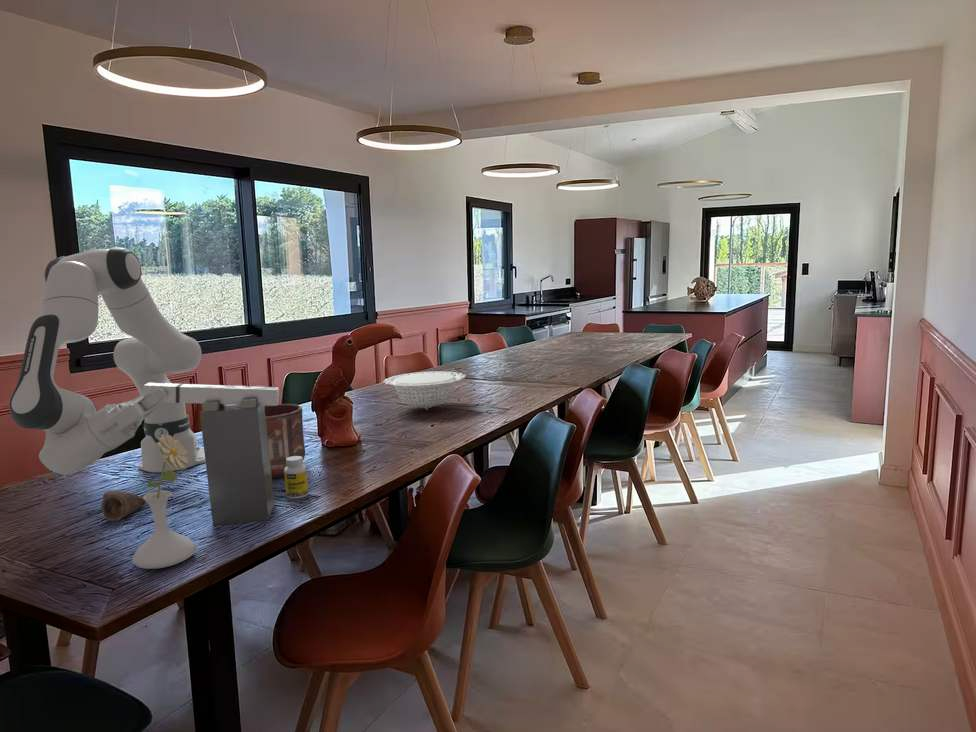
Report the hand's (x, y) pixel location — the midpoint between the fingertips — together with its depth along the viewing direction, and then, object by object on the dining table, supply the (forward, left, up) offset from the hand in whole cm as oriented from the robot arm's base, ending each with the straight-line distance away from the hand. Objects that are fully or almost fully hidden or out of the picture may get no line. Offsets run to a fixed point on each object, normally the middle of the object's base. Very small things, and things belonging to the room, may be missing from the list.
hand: (168, 389), depth 147 cm
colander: (-97, +65, -31) cm, 121 cm away
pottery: (-32, +16, -31) cm, 47 cm away
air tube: (0, +9, -4) cm, 10 cm away
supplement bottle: (-10, +24, -31) cm, 41 cm away
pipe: (-13, -19, -31) cm, 39 cm away
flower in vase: (+21, +2, -31) cm, 38 cm away
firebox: (0, +13, -31) cm, 34 cm away
